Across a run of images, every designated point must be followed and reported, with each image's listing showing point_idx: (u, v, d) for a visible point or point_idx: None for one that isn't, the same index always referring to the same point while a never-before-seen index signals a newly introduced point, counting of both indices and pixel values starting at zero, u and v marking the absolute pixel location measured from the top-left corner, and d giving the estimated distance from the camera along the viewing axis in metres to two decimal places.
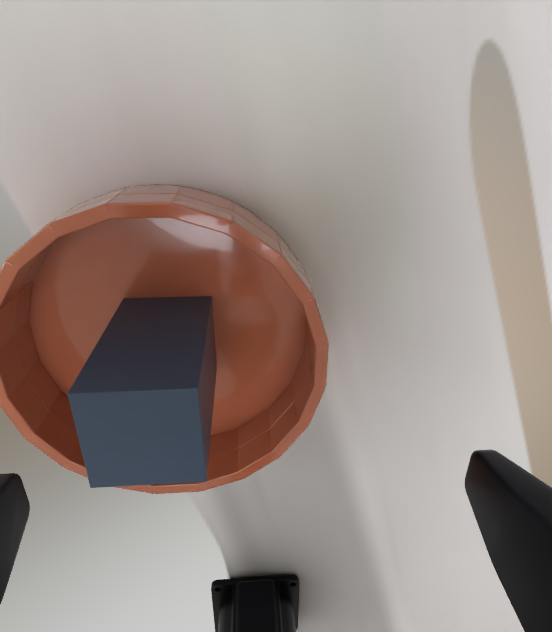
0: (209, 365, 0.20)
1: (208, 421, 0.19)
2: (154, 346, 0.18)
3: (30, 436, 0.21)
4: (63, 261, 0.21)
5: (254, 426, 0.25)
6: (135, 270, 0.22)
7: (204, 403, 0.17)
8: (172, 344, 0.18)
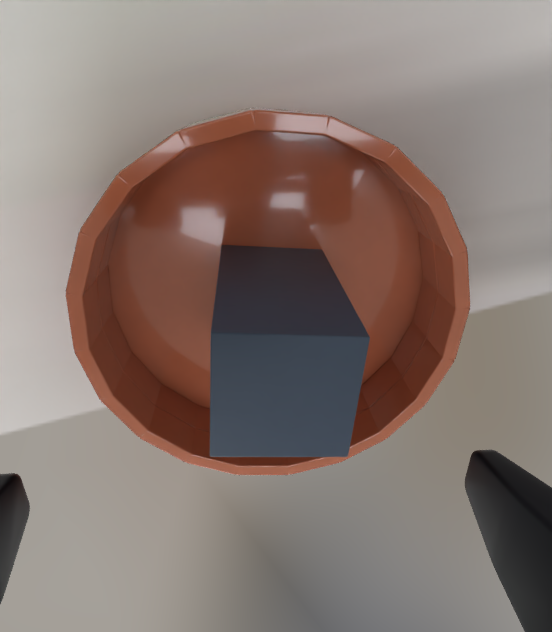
0: (267, 277, 0.16)
1: (316, 302, 0.14)
2: None
3: (338, 458, 0.20)
4: (178, 378, 0.22)
5: (413, 212, 0.18)
6: (188, 318, 0.20)
7: (270, 312, 0.13)
8: None
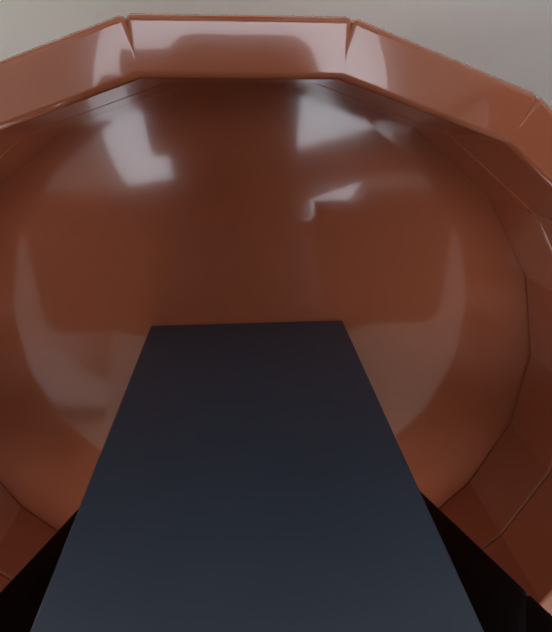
0: (223, 434, 0.07)
1: (346, 551, 0.05)
2: None
3: None
4: None
5: (525, 244, 0.09)
6: None
7: None
8: None
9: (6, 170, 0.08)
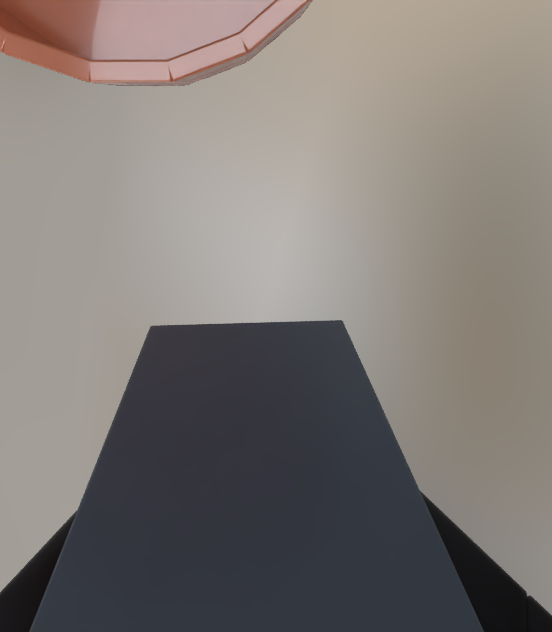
0: (222, 433, 0.07)
1: (346, 551, 0.05)
2: None
3: (243, 41, 0.13)
4: None
5: None
6: None
7: None
8: None
9: None
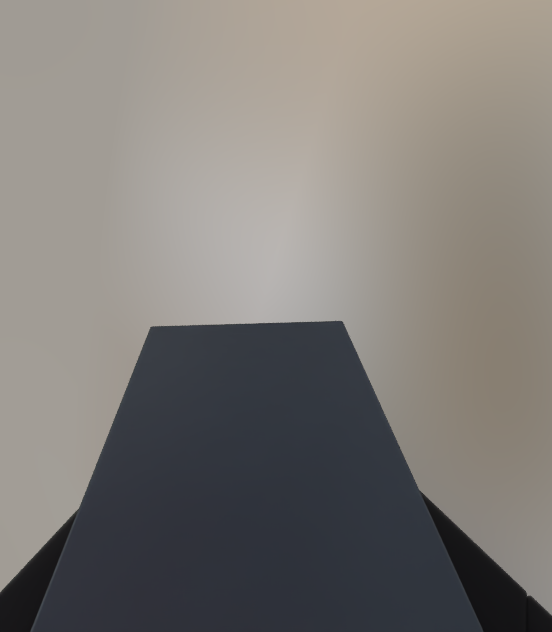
0: (223, 434, 0.07)
1: (346, 552, 0.05)
2: None
3: None
4: None
5: None
6: None
7: None
8: None
9: None
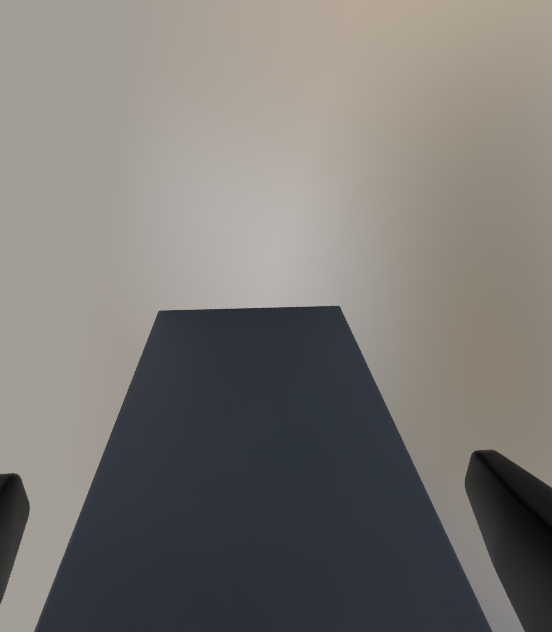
0: (228, 403, 0.07)
1: (339, 499, 0.06)
2: None
3: None
4: None
5: None
6: None
7: (213, 567, 0.05)
8: None
9: None
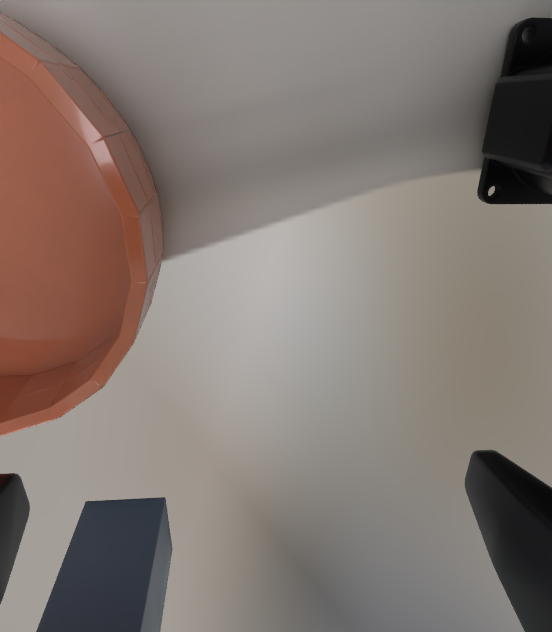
0: (99, 561, 0.22)
1: (119, 602, 0.20)
2: None
3: (53, 413, 0.17)
4: None
5: None
6: None
7: (78, 624, 0.19)
8: None
9: None
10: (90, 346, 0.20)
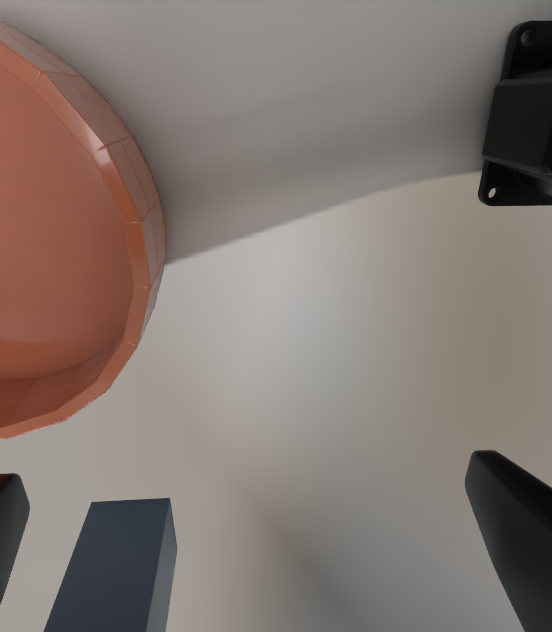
0: (105, 561, 0.22)
1: (125, 602, 0.20)
2: None
3: (58, 416, 0.18)
4: None
5: None
6: None
7: (85, 623, 0.19)
8: None
9: None
10: (94, 349, 0.20)
